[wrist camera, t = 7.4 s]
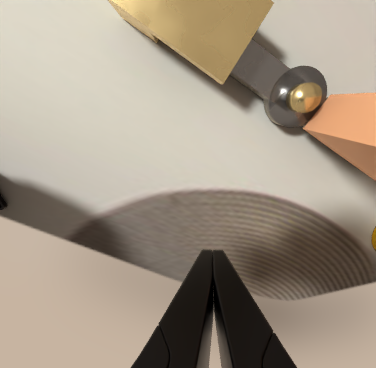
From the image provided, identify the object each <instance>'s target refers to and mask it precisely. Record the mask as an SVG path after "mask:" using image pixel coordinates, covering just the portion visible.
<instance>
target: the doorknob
mask: <svg viewBox="0 0 376 368" xmlns="http://www.w3.org/2000/svg"><path fill="white" fill-rule="evenodd" d="M372 245H373V247H374V249H375V250H376V227H375V229H374V231H373V234H372Z"/></svg>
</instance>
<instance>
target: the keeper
mask: <svg viewBox="0 0 376 368" xmlns="http://www.w3.org/2000/svg"><path fill="white" fill-rule="evenodd" d="M108 1H109V3H110V4H111V5H112V6H113V7H114V9H115V10H116V11H117V12H118V14H119V15H120V16H121V17H122V18H123V19H124V20H126V21H127V22H128V23H130V24H131V25H132V26H134V27H135V28H137V29H138V30H139V31H141V32H142V33H143V34H145V35H146V36H148V37H149V38H150V39H152V40H153V41H154V42H156V43H157V42H158V40H159V39H160V40H161V41H162V42H164V43H165V44H166V45H168V46H169V47H170V48H172V49H173V50H175V51H176V52H177V53H179V54H180V55H181V56H183V57H184V58H185V59H187V60H188V61H190V62H191V63H192V64H194V65H195V66H196V67H198V68H199V69H201V70H202V71H203V72H205V73H206V74H207V75H209V76H210V77H211V78H213V79H214V80H216V81H217V82H218V83H220V84H221V85H222V84H223V83H224V82H225V81H226V79H227V77H228V76H229V74H230V73H231V71H232V69H233V68H234V66H235V65H236V63H237V61H238V60H239V58H240V57H241V55H242V53H243V52H244V50H245V49H246V47H247V45H248V44H249V42H250V41H251V39H252V37H253V36H254V34H255V33H256V31H257V29H258V28H259V26H260V25H261V23H262V21H263V20H264V18H265V17H266V15H267V13H268V12H269V10H270V8H271V7H272V5H273V4H274V3H273V2H272V1H271V0H108Z"/></svg>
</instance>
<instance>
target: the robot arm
mask: <svg viewBox="0 0 376 368" xmlns="http://www.w3.org/2000/svg"><path fill="white" fill-rule="evenodd" d="M6 207H7V204H6V202H5V200H4V199H3V197H2V196H1V194H0V210H2V209H4V208H6ZM213 292H214V297H213ZM213 311H214V313H215V321H216V329H217V336H218V344H219V351H220V359H221V366H222V368H297V367H296V365H295V364H294V362H293V361H292V359H291V358H290V356H289V355H288V353H287V352H286V350H285V348H284V347H283V345H282V344H281V342H280V341H279V339H278V337H277V336H276V334H275V333H273V330H272V328H271V326H270V325H269V323H268V322H267V320H266V318H265V317H264V315H263V313H262V312H261V310H260V309H259V307H258V306H257V304H256V302H255V301H254V299H253V298H252V296H251V294H250V293H249V291H248V289H247V288H246V286H245V285H244V283H243V281H242V280H241V278H240V277H239V275H238V273H237V272H236V270H235V269H234V267H233V265H232V264H231V262H230V261H229V259H228V257H227V256H226V254H225V253H224V251H223V250H213V255H212V250H202V251H201V252H200V254H199V256H198V257H197V259H196V261H195V263H194V264H193V266H192V268H191V269H190V271H189V273H188V274H187V276H186V278H185V280H184V281H183V283H182V285H181V286H180V288H179V290H178V292H177V293H176V295H175V297H174V298H173V300H172V302H171V303H170V305H169V307H168V309H167V310H166V312H165V314H164V316H163V317H162V319H161V321H160V322H159V326H157V327H156V329H155V330H154V332H153V334H152V336H151V337H150V339H149V341H148V342H147V344H146V345H145V347H144V349H143V350H142V352H141V354H140V355H139V356H138V358H137V360H136V361H135V362H134V364H133V365H132V367H131V368H209V356H210V346H211V335H212V324H213Z"/></svg>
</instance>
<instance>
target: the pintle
mask: <svg viewBox="0 0 376 368" xmlns="http://www.w3.org/2000/svg"><path fill="white" fill-rule="evenodd" d="M321 99H322V90H321V88H320V86H319V85H318V84H316V83H313V82H309V83H303V84H298V85H295V86H294V87H292V88H291V89H290V91H289V92H288V94H287V97H286V105H287V107H288V109H289V110H291V111H293V112H301V113H307V112H310V111H312V110H314V109H315V108H316V107H317V106H318V105H319V103H320V101H321Z"/></svg>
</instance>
